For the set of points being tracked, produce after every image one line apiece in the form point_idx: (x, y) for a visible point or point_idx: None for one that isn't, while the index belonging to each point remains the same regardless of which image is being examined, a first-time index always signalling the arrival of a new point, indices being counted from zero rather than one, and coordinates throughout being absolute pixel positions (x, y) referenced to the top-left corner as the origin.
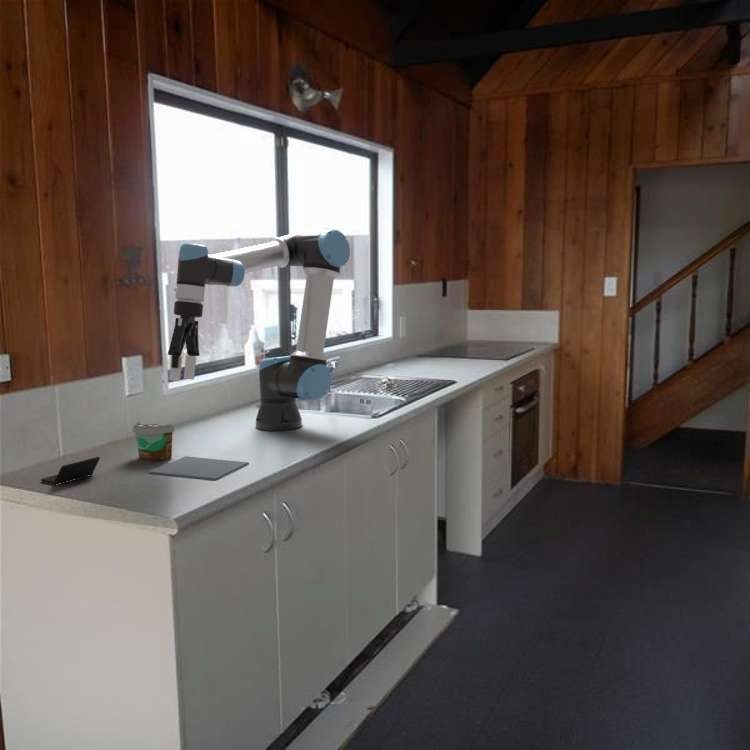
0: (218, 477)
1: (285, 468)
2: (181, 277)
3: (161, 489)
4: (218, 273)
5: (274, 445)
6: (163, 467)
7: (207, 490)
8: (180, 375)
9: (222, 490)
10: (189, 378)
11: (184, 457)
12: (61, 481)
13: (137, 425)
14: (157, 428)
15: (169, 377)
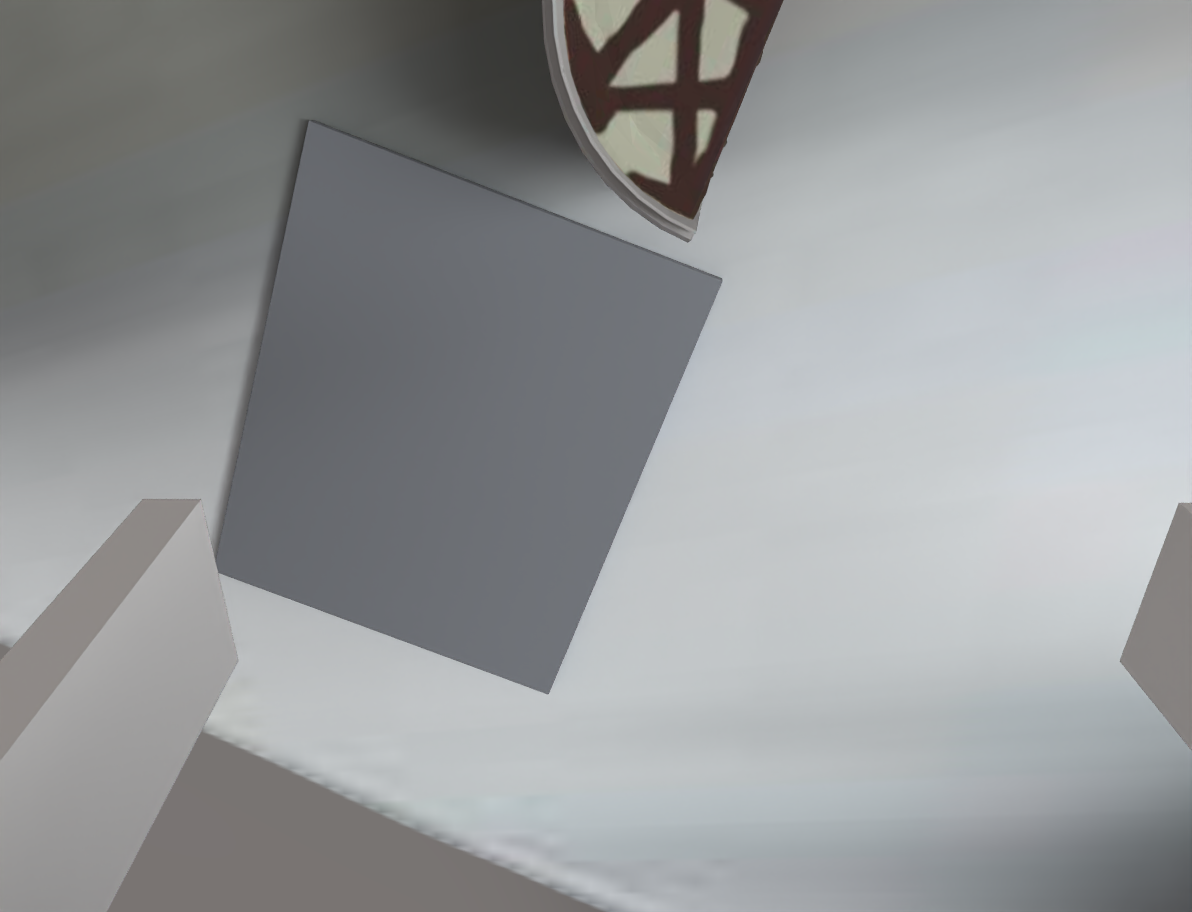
0: (243, 580)
1: (472, 852)
2: None
3: (10, 314)
4: None
5: (1011, 787)
6: (411, 200)
7: (52, 554)
8: (191, 737)
9: None
10: (1147, 606)
11: (684, 282)
12: None
13: None
14: (570, 100)
15: (116, 532)
